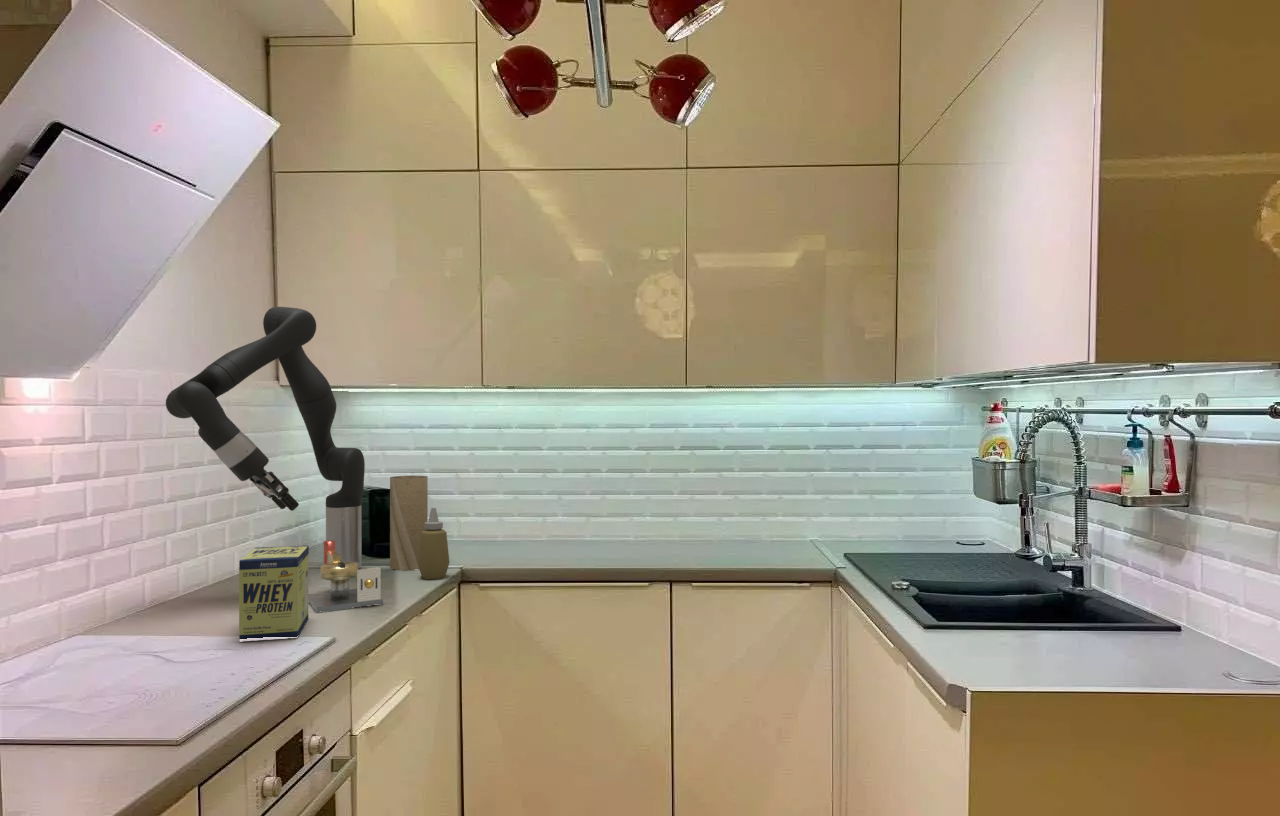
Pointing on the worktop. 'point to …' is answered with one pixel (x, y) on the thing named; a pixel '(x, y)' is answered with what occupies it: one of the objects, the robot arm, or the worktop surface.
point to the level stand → (350, 592)
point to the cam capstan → (336, 564)
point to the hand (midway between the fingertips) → (290, 507)
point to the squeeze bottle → (433, 549)
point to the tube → (407, 519)
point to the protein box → (273, 592)
